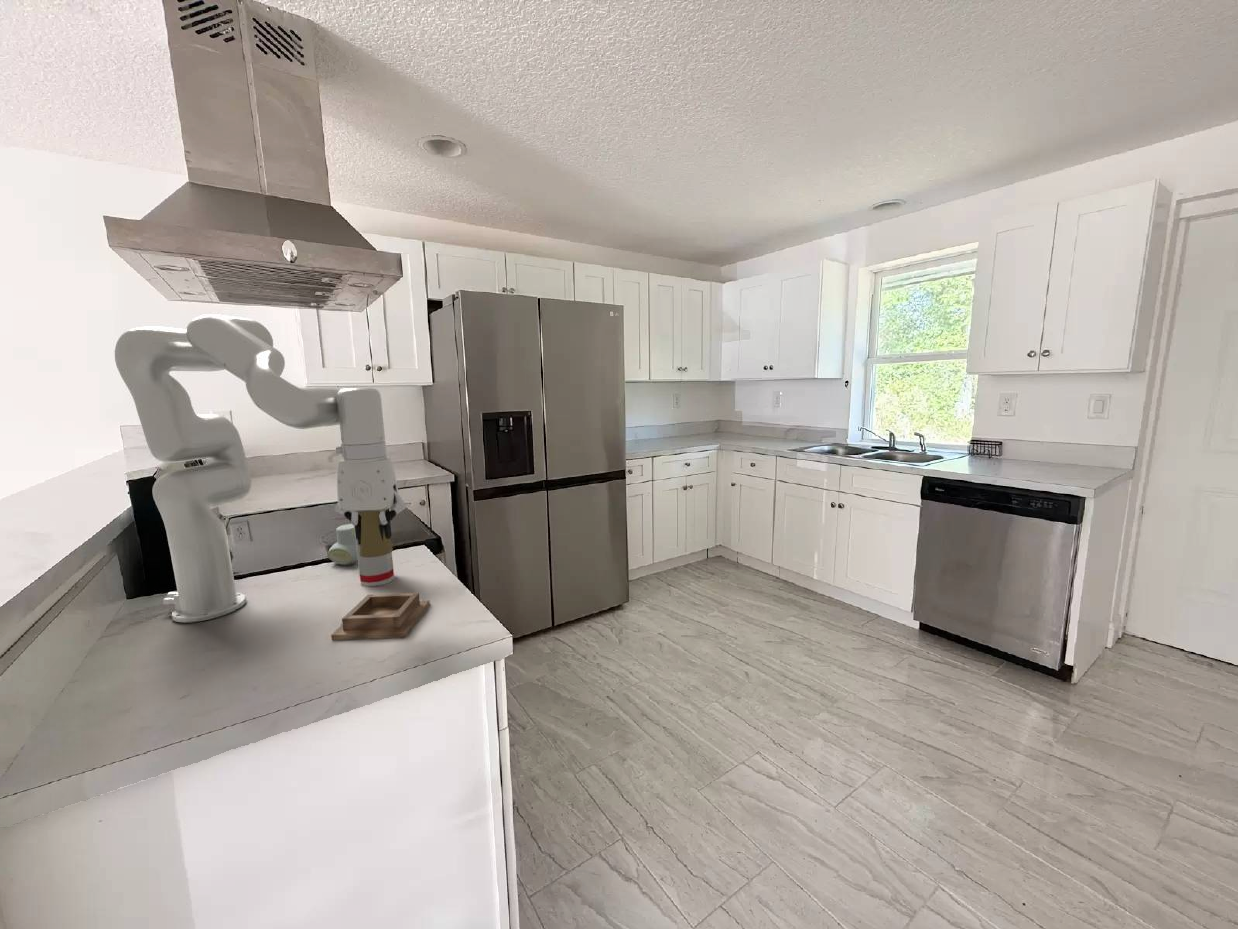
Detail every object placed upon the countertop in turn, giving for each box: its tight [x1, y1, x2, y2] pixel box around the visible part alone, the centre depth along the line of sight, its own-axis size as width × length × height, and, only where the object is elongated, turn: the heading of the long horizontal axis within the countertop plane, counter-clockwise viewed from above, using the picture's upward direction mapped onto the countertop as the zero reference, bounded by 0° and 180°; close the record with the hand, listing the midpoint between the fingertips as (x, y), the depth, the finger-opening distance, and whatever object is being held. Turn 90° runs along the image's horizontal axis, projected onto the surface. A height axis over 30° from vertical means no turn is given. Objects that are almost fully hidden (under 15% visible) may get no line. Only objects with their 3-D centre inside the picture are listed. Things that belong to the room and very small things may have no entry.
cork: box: [358, 511, 394, 557], centre depth 98 cm, size 6×6×11 cm
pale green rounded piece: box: [327, 523, 358, 566], centre depth 136 cm, size 11×8×10 cm
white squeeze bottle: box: [354, 526, 395, 587], centre depth 121 cm, size 8×8×25 cm
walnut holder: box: [330, 592, 431, 641], centre depth 102 cm, size 14×14×4 cm
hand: (374, 541), depth 99 cm, fingers closed on cork, 3 cm apart
